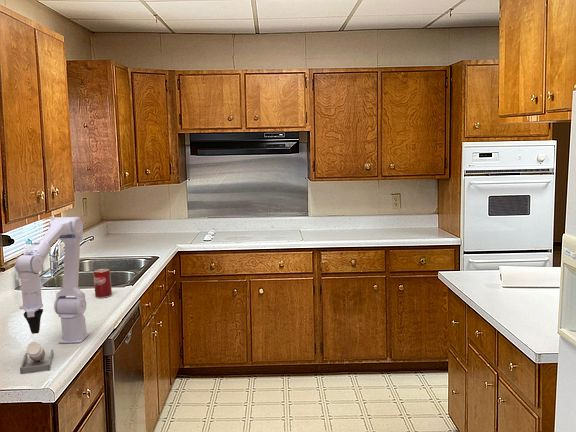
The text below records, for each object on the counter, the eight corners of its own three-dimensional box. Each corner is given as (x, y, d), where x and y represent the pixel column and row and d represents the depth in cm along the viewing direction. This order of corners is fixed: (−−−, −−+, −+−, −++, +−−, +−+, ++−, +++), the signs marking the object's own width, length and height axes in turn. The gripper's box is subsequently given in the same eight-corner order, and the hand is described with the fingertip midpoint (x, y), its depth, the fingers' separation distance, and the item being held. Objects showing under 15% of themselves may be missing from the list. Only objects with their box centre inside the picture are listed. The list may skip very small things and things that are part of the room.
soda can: (103, 299, 291) (101, 272, 289) (91, 297, 294) (89, 271, 293) (115, 295, 297) (113, 269, 295) (104, 293, 300) (102, 267, 299)
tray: (26, 357, 218) (25, 352, 217) (53, 354, 220) (53, 349, 220) (20, 373, 203) (19, 368, 203) (49, 370, 205) (49, 364, 205)
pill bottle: (27, 360, 213) (22, 353, 206) (33, 346, 215) (28, 338, 208) (42, 363, 213) (37, 357, 206) (47, 349, 216) (43, 342, 208)
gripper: (20, 288, 217) (25, 328, 218) (15, 298, 203) (19, 341, 205) (43, 285, 218) (47, 325, 220) (39, 296, 204) (43, 338, 206)
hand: (35, 332), depth 212 cm, fingers closed
